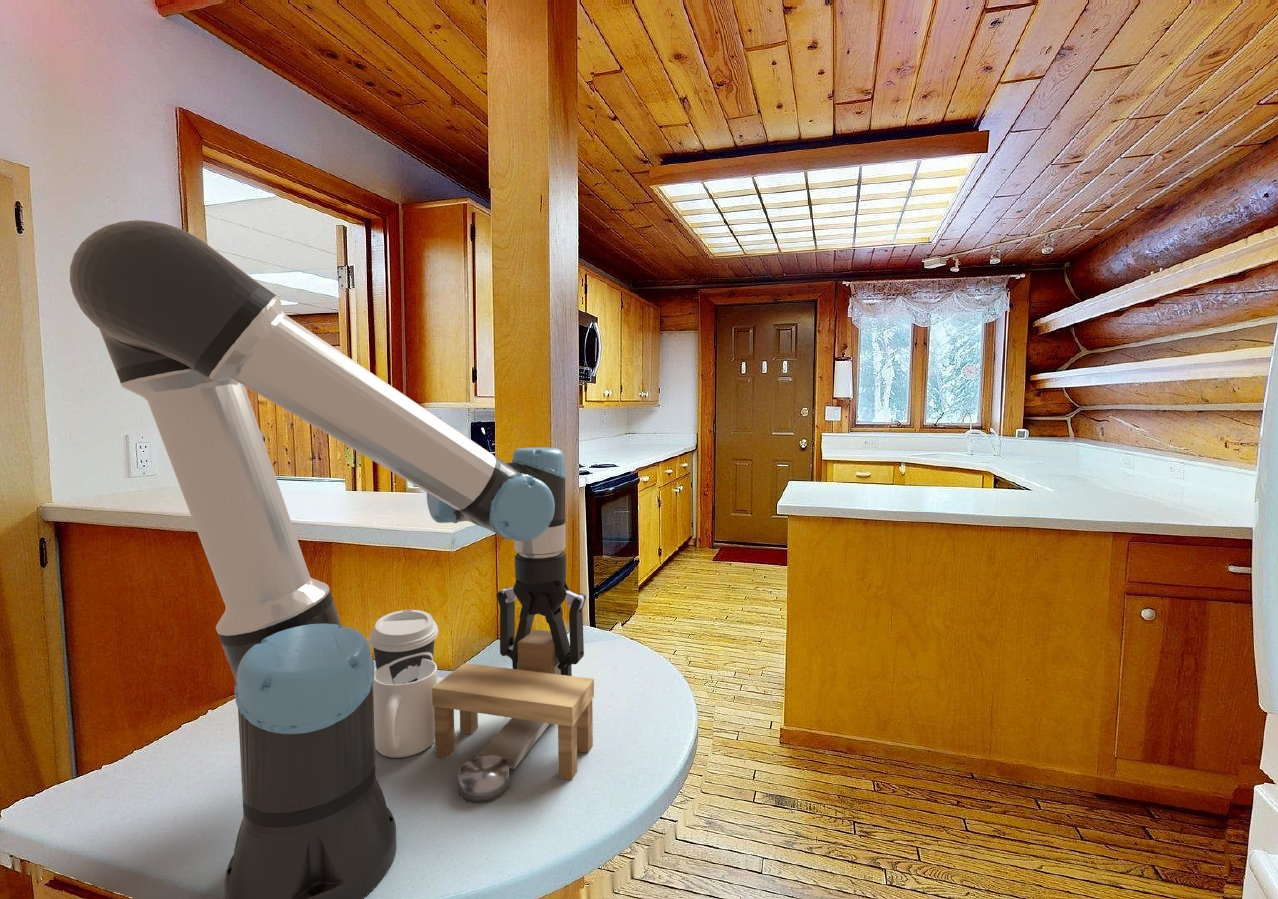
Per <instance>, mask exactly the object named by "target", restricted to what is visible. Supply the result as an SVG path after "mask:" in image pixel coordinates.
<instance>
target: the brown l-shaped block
mask: <svg viewBox="0 0 1278 899" xmlns="http://www.w3.org/2000/svg"><path fill="white" fill-rule="evenodd" d="M558 663H559V661H558V658H557V654H556V650H555V646H554V642H553V639H552V635H551V631H550V630H542V629H531V631H530V633H529V634H528V635H527V636H526V637H525V638H523V639H521V640H520V641H519V642H518V670H526V671H534V672H542V673H550V674H554V667H555V666H556V665H557V664H558ZM549 725H551V724H550V723H544V722H537V721H530V720H523V719H517V718H511V719H510V720H509V721H508V722H507V723H506V724H505V725H504V726H503V727H502V728H501V729H500V730H499V732H498V733H497V734H496V735H495V736H494V737H493V738H492V739H491V741H489V743H487V745H486V746H484V748H483V749H482V750H481V751H480V752H479V753H478V757H480V756H487V755H494V756H499V757H502V758H504V759H505V760H506V761H507V762H508V764H509V769H512V770H513V769H514V770H515V769H516V768H517V766H518V765H519V763H520V762H521V761H522V760H523V759H524V758H525V756H526V755H527V754H528V752H529V751H530V750H531V749H532V747H533V746H534V744H536V742H537V741H538V740H539V739H540V737H541V736H542V735H543V734H544V732H545V731H546V729H548V727H549Z"/></svg>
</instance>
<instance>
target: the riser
mask: <svg viewBox="0 0 1278 899" xmlns="http://www.w3.org/2000/svg"><path fill="white" fill-rule="evenodd" d="M594 697H595V679H594V678H588V677H582V676H573V675H572V676H566V675H558V674H550V673H542V672H534V671H526V670H518V669H513V668H508V667H499V666H492V665H484V664H478V663H477V664H475V663H468V662H464V663H462V665H460V666H459V667H458V668H456V669H454V670H453V671H452V672H451V673H450V674H448V675H447V676H446V677H444V678H443V679H442V680H440V681H439V682H437V684H436V685H435V686H434V687H432V706H434V720H435V741H434V748H435V753H434V755H435V757H437V758H443V759H448V758H449V757H450V756H451V755H452V754H453V753H455V751H456V748H455V747H456V744H455V743H456V741H455V740H456V739H455V710H457V711H459V730H460V732H459V733H460V734H467V735H473V734H474V732H476V731H477V729H478V728H479V722H478V721H479V719H478V718H479V717H478V714H482V715H483V714H484V715H491V716H496V717H504V718H511V719H512V718H517V719H523V720H530V721H537V722H544V723H550V724H549V725H551V724H553V725H557V740H558V741H557V745H558V746H557V750H558V751H557V752H558V754H557V756H558V757H557V758H558V778H559V779H564V780H565V779H566V780H571V781H572V780H573V779H574V777H575V776H576V774H577V772H578V752H580V753H586V754H589V753H590V751H591V749H592V747H594V740H593V739H594V738H593V737H594V734H593V733H594V731H593V727H594V726H593V725H594V724H593V723H594V722H593V721H594V720H593V715H594V714H593V712H594V710H593V709H594V708H593V699H594Z"/></svg>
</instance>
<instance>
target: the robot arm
mask: <svg viewBox="0 0 1278 899" xmlns="http://www.w3.org/2000/svg"><path fill="white" fill-rule="evenodd" d="M69 283H70V287H71V291H72V295H73V297H74V298H75V300H76V303H77V305H78V306H79V308H80V310H81V312H82V313H83V314H84V315H85V316H86V317H87V318H88V319H89V321H91V323H93V325H94V326H95V327H96V328H98V330H99V331H100V334H101V337H102V340H103V342H104V344H105V347H106V349H107V352H108V354H109V357H110V359H111V362H112V364H113V367H114V370H115V372H116V374H117V377H118V380H119V382H120V385H121V387H122V388H124V389H126V390H128V391H130V392H132V393H134V394H136V395H138V396H140V397H142V398H143V399H144V400H146V401H147V403H148V404H147V405H149V408H150V409H149V410H150V411H151V413H152V414H151V415H152V418H153V419H154V422H155V424H156V426H157V427H156V428H157V429H158V432H159V435H160V437H161V440H162V443H163V446H164V447H165V450H166V453H167V456H168V459H169V460H170V464H171V466H172V469H173V472H174V474H175V477H176V480H177V482H178V484H179V487H180V490H181V494H182V496H183V498H184V501H185V503H186V506H187V508H188V511H189V514H190V516H191V519H192V522H193V524H194V527H195V530H196V532H197V534H198V538H199V540H200V542H201V545H202V546H201V547H202V548H203V550H204V553H205V556H206V559H207V561H208V564H209V566H210V569H211V571H212V574H213V577H214V581H216V584H217V587H218V590H219V592H220V595H221V598H222V601H223V603H224V605H225V606H224V607H225V610H224V613H223V614H222V615H221V617H220V619H219V620H218V622H217V623H216V625H215V630H216V633H217V637H218V638H219V642H220V644H221V646H222V649H223V652H224V656H225V657H226V660H227V662H228V665H229V667H230V670H231V672H232V675H233V678H234V682H235V683H234V699H235V704H236V706H237V714H238V715H237V716H238V718H237V719H238V733H239V735H238V736H239V751H240V752H239V753H240V770H241V772H240V773H241V791H242V795H241V796H242V809H243V813H242V814H243V815H242V816H243V817H242V820H241V823H240V826H239V830H238V833H237V836H236V841H235V845H234V849H233V850H234V851H233V855H231V858H230V861H229V862H228V865H227V868H226V870H225V871H226V872H225V874H224V875H225V876H224V881H223V884H224V885H223V887H224V890H223V891H224V899H364V898H365V897H366V896H367V895H368V894H369V893H370V892H372V890H373V889H375V887H376V886H377V885H379V884H380V883H381V881H382V880H383V878H384V877H385V876H386V875H387V873H389V872H388V871H389V870H390V868H391V867H392V865H393V862H394V861H395V858H396V853H397V826H396V825H397V824H396V820H395V817H394V815H393V813H392V811H391V809H390V808H389V807H388V806H387V802H386V798H385V796H384V793H383V790H382V788H381V786H380V783H379V781H378V779H377V771H376V768H377V766H376V747H375V732H374V701H373V681H374V672H375V669H376V667H375V661H374V658H373V657H372V656H373V655H372V651H371V649H372V648H371V644H370V643H369V640H368V639H367V638H366V637H365V636H364V635H363V634H362V633H361V632H360V631H358V630H356V629H354V628H352V627H350V626H344V627H343V624H342V621H341V618H340V615H339V612H338V609H337V606H336V604H335V601H334V598H333V595H332V592H331V588H330V587H329V585H328V583H326V582H323V581H320V580H317V579H315V578H312V577H311V575H310V572H309V569H308V567H307V564H306V561H305V558H304V555H303V552H302V549H301V546H300V543H299V541H298V537H297V534H296V531H295V529H294V526H293V523H292V521H291V518H290V515H289V511H288V508H287V505H286V503H285V500H284V497H283V494H282V491H281V488H280V485H279V482H278V479H277V476H276V474H275V470H274V468H273V465H272V462H271V459H270V456H269V453H268V451H267V448H266V444H265V442H264V439H263V435H262V432H261V430H260V426H259V425H258V421H257V418H256V416H255V413H254V412H255V411H254V410H253V407H252V403H251V401H250V398H249V395H248V391H247V389H250V390H251V391H253V392H255V393H256V394H258V395H260V396H262V397H263V398H265V399H267V400H268V401H270V402H272V403H274V404H275V405H277V406H278V407H281V408H282V409H284V411H288V412H289V413H291V414H293V415H294V416H296V417H297V418H299V419H301V420H302V421H304V422H306V423H307V424H309V425H311V426H313V427H314V428H316V429H318V430H320V431H321V432H323V433H325V434H326V435H329V437H332V438H333V439H334V440H337V441H338V442H340V443H342V444H343V445H346V446H347V447H349V448H350V449H352V450H354V451H355V452H357V453H358V454H361V455H363V456H364V457H366V458H368V459H370V460H371V461H373V462H374V463H376V464H378V466H381V467H383V468H385V469H387V470H388V471H390V472H392V473H393V474H395V475H397V476H398V477H400V478H401V479H404V480H405V481H407V482H408V483H410V484H412V485H413V486H416V487H417V488H419V489H421V490H422V491H424V492H425V493H426V503H427V508H428V513H429V514H430V517H431V518H432V520H433V521H435V522H436V523H437V524H438V523H440V524H447V523H450V524H451V523H453V524H458V523H460V522H470V523H472V524H474V525H477V526H479V527H482V528H484V529H486V530H489V531H491V532H492V533H495V534H496V535H498V536H500V537H502V538H503V539H506V540H510V541H514V544H513V546H514V548H513V549H514V551H515V552H517V553H516V554H515V555H514V577H515V583H514V585H513V586H512V587H507V586H506V587H504V588H503V589H501V590H500V591H498V592H497V594H496V598H497V602H498V604H499V621H500V622H499V654H500V656H502V657H508V658H510V659H511V662H512V663H511V664H512V666H511V667H512V668H511V669H518V642H519V641H520V640H521V639H523V638H525V637H526V636H527V635H528V634H529V633H530V632H531V631H532V627H533V623H534V618H535V615H541V616H544V618H545V621H546V623H547V624H548V626H549V631H551V635H552V639H553V642H554V646H555V650H556V654H557V658H558V661H559V663H558V664H557V665H556V666H555V667H554V674H558V675H566V676H573V675H572V674H573V673H572V670H573V669H572V667H573V666H572V665H577V664H578V663H579V662H580V661H581V660H582V659H583V658H584V656H585V647H584V645H585V642H584V620H583V619H584V617H583V616H584V613H583V612H584V611H583V609H584V606H585V603H586V600H587V596H586V594H584V593H579V594H577V593H575V592H573V591H571V590H570V588H569V586H568V584H567V581H566V579H567V554H566V553H565V551H564V550H566V547H567V546H566V543H567V542H566V539H567V536H566V535H567V534H566V533H567V532H566V531H567V530H566V527H567V526H566V481H567V476H566V462H565V455H564V452H562V450H561V449H559V448H558V447H557V448H556V447H545V446H544V447H538V446H537V447H523V448H521V447H520V448H516V449H515V450H514V451H513V454H512V459H511V461H510V462H507V463H506V462H505V461H503V460H501V459H499V458H498V457H496V456H495V455H494V454H493V453H491V452H489V451H488V450H487V449H485V448H483V447H482V446H481V445H480V444H478V443H477V442H476V441H473V440H472V439H471V438H470V437H468V436H466V435H464V434H463V433H461V432H460V431H459V430H457V429H456V428H454V427H453V426H452V425H450V424H448V423H447V422H445V421H444V420H442V419H441V418H439V417H438V416H436V415H435V414H433V413H432V412H431V411H429V410H428V409H426V408H425V407H423V406H421V405H420V404H419V403H417V402H415V401H414V400H413V399H411V398H410V397H408V396H407V395H406V394H404V393H403V392H401V391H399V389H396V387H394V386H392V385H391V384H389V383H388V382H385V380H383V379H382V378H380V377H378V376H377V375H375V374H374V373H372V372H371V371H370V370H368V369H367V368H366V367H364V366H362V365H360V364H359V363H358V362H356V361H355V360H353V359H352V358H351V357H349V356H347V355H346V354H344V353H343V352H341V351H340V350H339V349H337V348H335V347H334V346H333V345H331V344H330V343H328V342H327V341H325V340H324V339H322V338H321V337H319V336H318V335H316V334H315V333H313V332H312V331H310V330H309V329H308V328H306V327H304V326H303V325H301V324H300V323H298V321H297V322H296V321H295V320H294V319H293V318H291V317H289V316H288V315H287V314H285V311H284V309H283V306H282V300H281V297H279V296H278V295H277V294H275V293H273V292H272V291H271V290H270V289H268V288H266V286H263V284H261V283H259V282H258V281H257V280H255V279H254V278H252V276H250V275H249V274H247V273H246V272H245V271H243V270H242V269H240V268H239V267H238V266H236V265H235V264H234V263H232V261H230V260H228V259H227V258H226V257H224V256H223V255H222V254H221V253H219V252H218V251H217V250H215V249H214V248H213V247H211V246H210V245H208V243H206V242H205V241H203V240H202V239H200V238H198V237H196V236H195V235H193V234H192V233H190V232H188V231H186V230H184V229H181V228H178V227H177V226H173V225H170V224H167V223H163V222H158V221H154V220H141V219H140V220H139V219H135V220H123V221H119V222H115V223H112V224H108V225H105V226H103V227H101V228H99V229H97V230H96V231H94V232H92V233H91V234H90V235H88V236H87V237H86V238H85V239H84V240H83V241H82V242H81V243H80V244H79V246H78V248H76V251H75V252H74V253H73V256H72V260H71V263H70V266H69ZM246 388H247V389H246ZM516 599H517V600H518V601H519V603H520V605H521V609H520V612H519V623H518V627H517V629H515V626H516V623H515V622H516V621H515V620H516V619H515V618H516V617H515V616H516V615H515V614H516V604H515V600H516ZM565 600H566V602H567V609H569V613H568V621H569V622H568V625H569V626H568V628H569V629H568V630H569V638H568V633H567V630H566V626H565V622H564V618H563V615H564V614H563V608H562V604H563V602H565ZM515 630H517V631H515ZM515 632H516V633H515ZM515 634H516V635H515Z"/></svg>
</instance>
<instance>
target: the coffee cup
mask: <svg viewBox="0 0 1278 899" xmlns="http://www.w3.org/2000/svg"><path fill="white" fill-rule="evenodd" d="M432 616H433V615H431V614H430V613H429V612H426V611H423V610H419V609H402V610H398V611H393V612H389V613H387V614H385V615H383V616H381V617H380V618H378V619H377V620H376V622H375V624H374V627H372V629H371V630H370V631H371V632H370V634H369V637H368V643H369V645H370V647H372V648H373V653H374V663H375V669H376V670H377V669H378V668H380V667H382V666H383V665H385V664H388V665H389V669H390V673H391V677H392V680H393V684H406V683H411V682H415V681H417V680H418V675H419V670H420V665H421V660H422V659H428V660H431V661H433V662H434V653H435V652H434V651H435V642H436V640H435V639H436V638H437V637H438V635H439V628H438V627H439V626H438V625H437V623H436V621H435V620H434V619H433V617H432ZM376 670H375V671H376Z"/></svg>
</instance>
